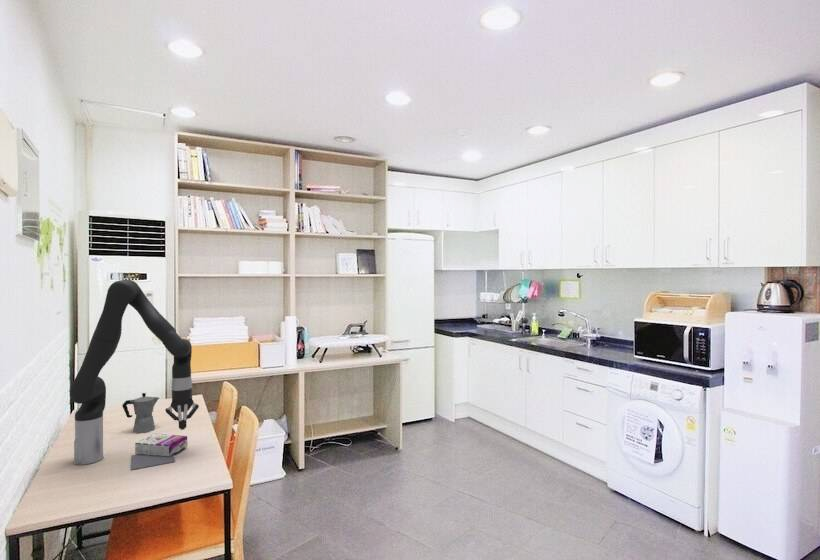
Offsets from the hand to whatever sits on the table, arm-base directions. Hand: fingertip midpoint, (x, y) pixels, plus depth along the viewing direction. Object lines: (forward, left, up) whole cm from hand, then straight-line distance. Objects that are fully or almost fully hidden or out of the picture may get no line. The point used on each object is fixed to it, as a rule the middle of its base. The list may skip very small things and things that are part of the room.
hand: (182, 429), depth 187 cm
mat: (-11, 0, -10) cm, 15 cm away
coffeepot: (-15, +42, -11) cm, 46 cm away
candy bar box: (-1, +2, -8) cm, 8 cm away
